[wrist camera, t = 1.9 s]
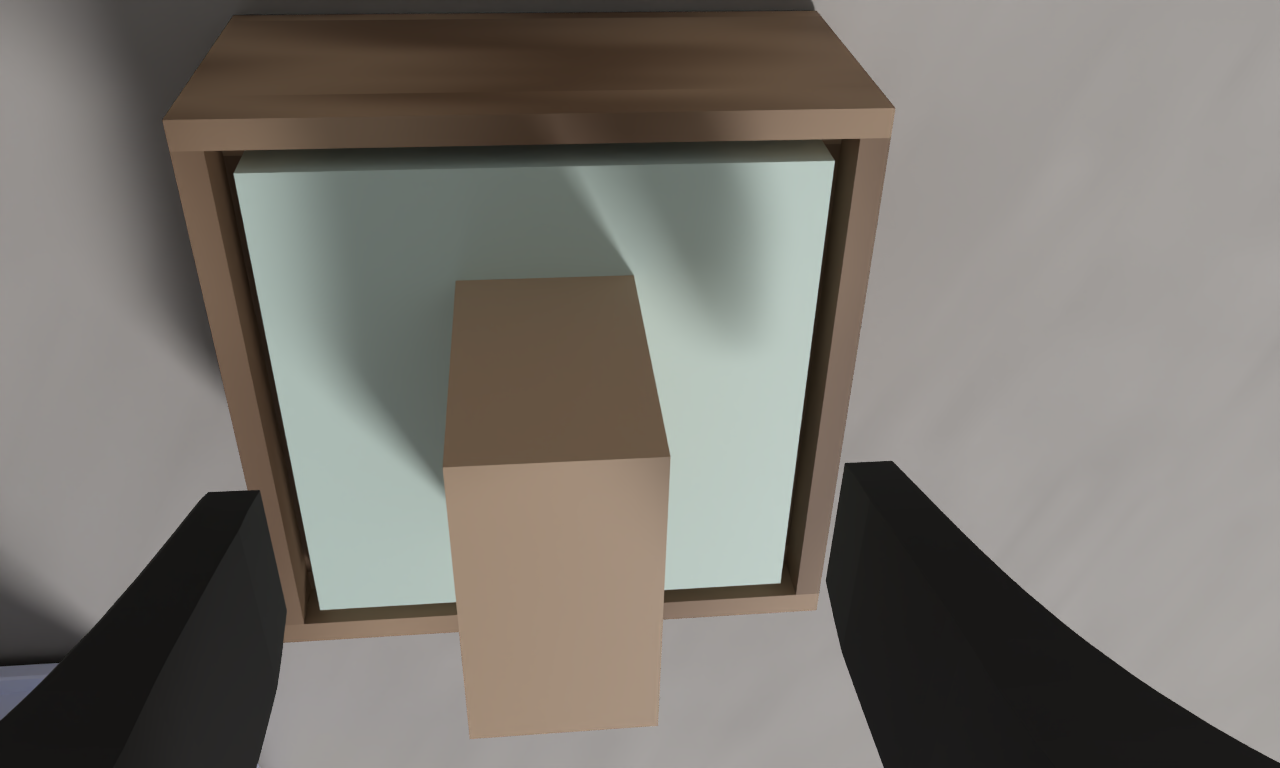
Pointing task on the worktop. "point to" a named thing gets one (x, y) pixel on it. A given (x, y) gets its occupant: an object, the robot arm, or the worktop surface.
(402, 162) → the lid
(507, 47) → the box
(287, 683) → the worktop surface
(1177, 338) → the worktop surface
